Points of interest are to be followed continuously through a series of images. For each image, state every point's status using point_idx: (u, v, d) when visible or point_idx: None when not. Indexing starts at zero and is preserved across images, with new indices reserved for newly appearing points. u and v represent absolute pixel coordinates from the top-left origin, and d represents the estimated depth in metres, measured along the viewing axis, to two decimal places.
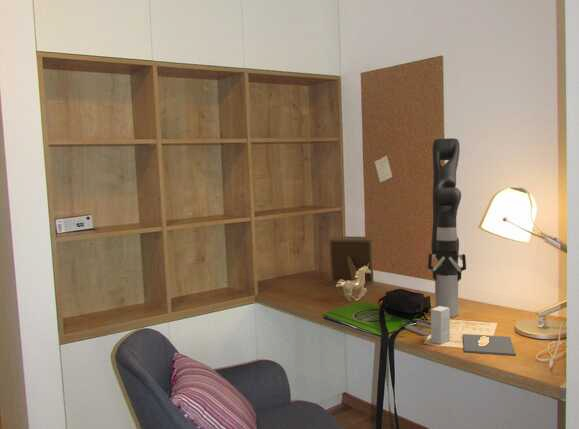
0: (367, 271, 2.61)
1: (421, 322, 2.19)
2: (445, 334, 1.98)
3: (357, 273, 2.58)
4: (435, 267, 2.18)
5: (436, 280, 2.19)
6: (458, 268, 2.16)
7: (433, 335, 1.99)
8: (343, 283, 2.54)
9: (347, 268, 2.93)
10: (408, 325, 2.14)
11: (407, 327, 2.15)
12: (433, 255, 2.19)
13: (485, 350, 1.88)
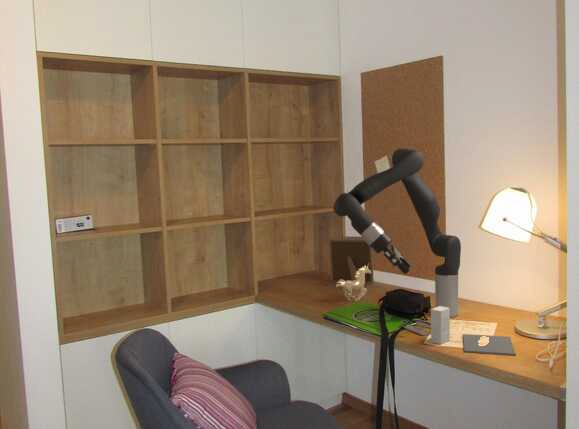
0: (367, 271, 2.61)
1: (420, 322, 2.19)
2: (445, 334, 1.98)
3: (357, 273, 2.58)
4: None
5: (407, 269, 2.04)
6: None
7: (433, 335, 1.99)
8: (343, 283, 2.54)
9: (347, 268, 2.93)
10: (407, 325, 2.14)
11: (406, 327, 2.15)
12: None
13: (485, 350, 1.88)
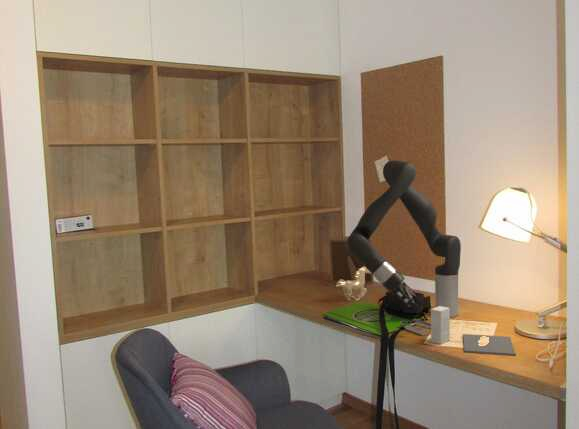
0: (367, 271, 2.61)
1: (419, 322, 2.19)
2: (445, 334, 1.98)
3: (357, 273, 2.58)
4: None
5: None
6: None
7: (433, 335, 1.99)
8: (343, 283, 2.54)
9: (347, 268, 2.93)
10: (407, 325, 2.14)
11: (405, 327, 2.15)
12: None
13: (485, 350, 1.88)
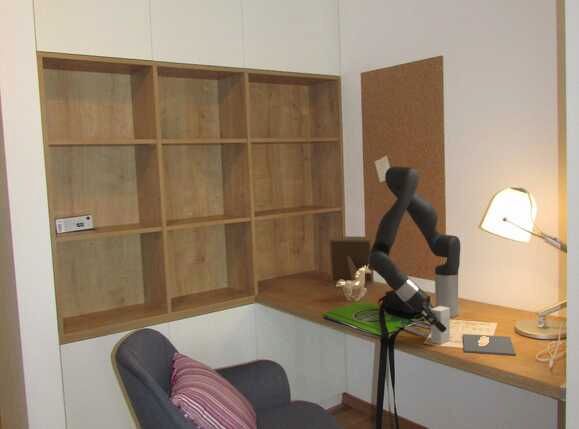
0: (367, 271, 2.61)
1: (418, 323, 2.19)
2: (445, 334, 1.98)
3: (357, 273, 2.58)
4: None
5: None
6: None
7: (433, 335, 1.99)
8: (343, 283, 2.54)
9: (347, 268, 2.93)
10: (405, 326, 2.14)
11: (404, 328, 2.14)
12: None
13: (485, 350, 1.88)
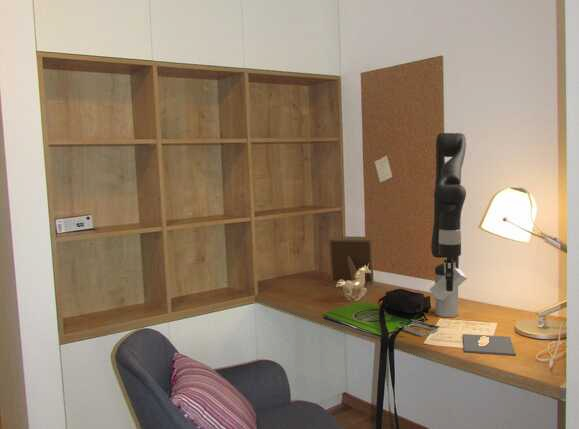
0: (367, 271, 2.61)
1: (416, 323, 2.19)
2: (445, 293, 1.97)
3: (357, 273, 2.58)
4: None
5: None
6: None
7: (436, 286, 1.97)
8: (343, 283, 2.54)
9: (347, 268, 2.93)
10: (404, 326, 2.13)
11: None
12: None
13: (485, 350, 1.88)
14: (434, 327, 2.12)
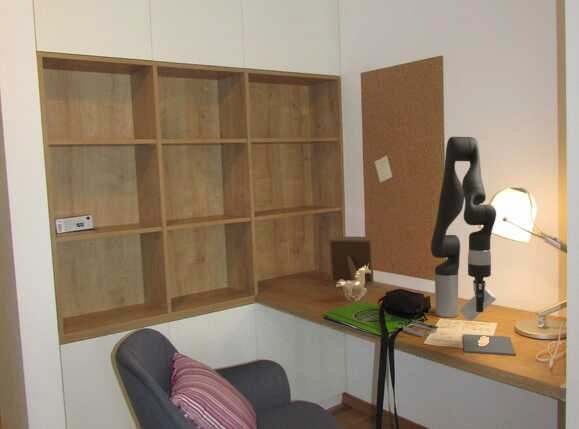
0: (367, 271, 2.61)
1: (415, 323, 2.18)
2: (474, 314, 1.95)
3: (357, 273, 2.58)
4: None
5: None
6: None
7: (465, 307, 1.95)
8: (343, 283, 2.54)
9: (347, 268, 2.93)
10: (403, 326, 2.13)
11: None
12: None
13: (485, 350, 1.88)
14: (433, 327, 2.12)
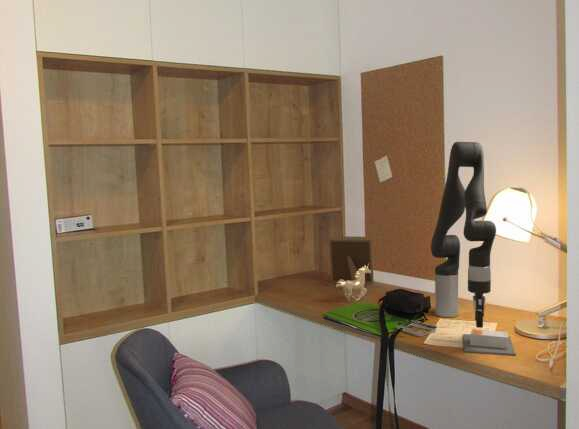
0: (367, 271, 2.61)
1: (414, 323, 2.18)
2: None
3: (357, 273, 2.58)
4: None
5: None
6: None
7: (478, 337, 1.92)
8: (343, 283, 2.54)
9: (347, 268, 2.93)
10: (402, 327, 2.13)
11: None
12: None
13: (485, 350, 1.88)
14: (432, 327, 2.12)
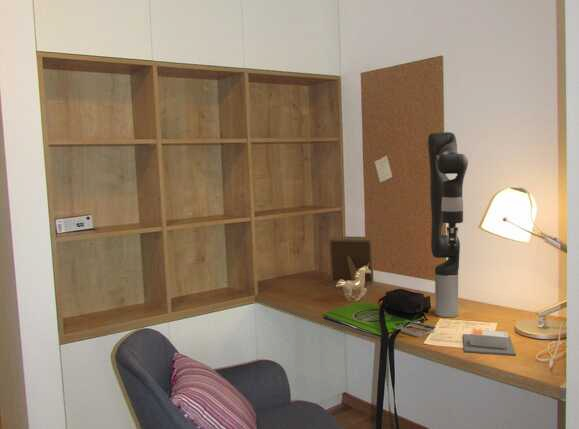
0: (367, 271, 2.61)
1: (412, 324, 2.18)
2: None
3: (357, 273, 2.58)
4: None
5: None
6: None
7: (478, 337, 1.92)
8: (343, 283, 2.54)
9: (347, 268, 2.93)
10: (401, 327, 2.12)
11: None
12: None
13: (485, 350, 1.88)
14: (430, 328, 2.12)
